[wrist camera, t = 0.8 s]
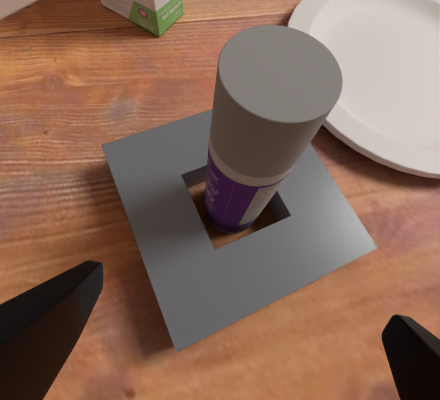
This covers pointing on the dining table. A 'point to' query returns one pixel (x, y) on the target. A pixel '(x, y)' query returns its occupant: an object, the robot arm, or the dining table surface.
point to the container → (264, 118)
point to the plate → (383, 77)
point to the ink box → (148, 12)
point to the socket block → (233, 252)
